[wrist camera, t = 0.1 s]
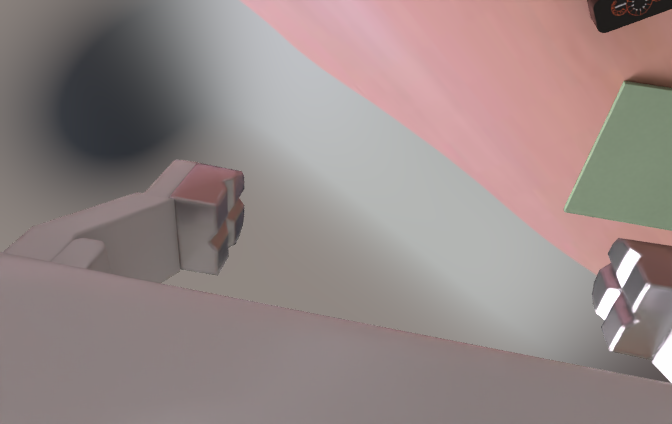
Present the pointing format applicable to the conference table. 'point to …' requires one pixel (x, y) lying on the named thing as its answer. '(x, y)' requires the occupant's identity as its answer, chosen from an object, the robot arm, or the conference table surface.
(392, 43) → the conference table surface
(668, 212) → the sage mat
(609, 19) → the black box with knob
